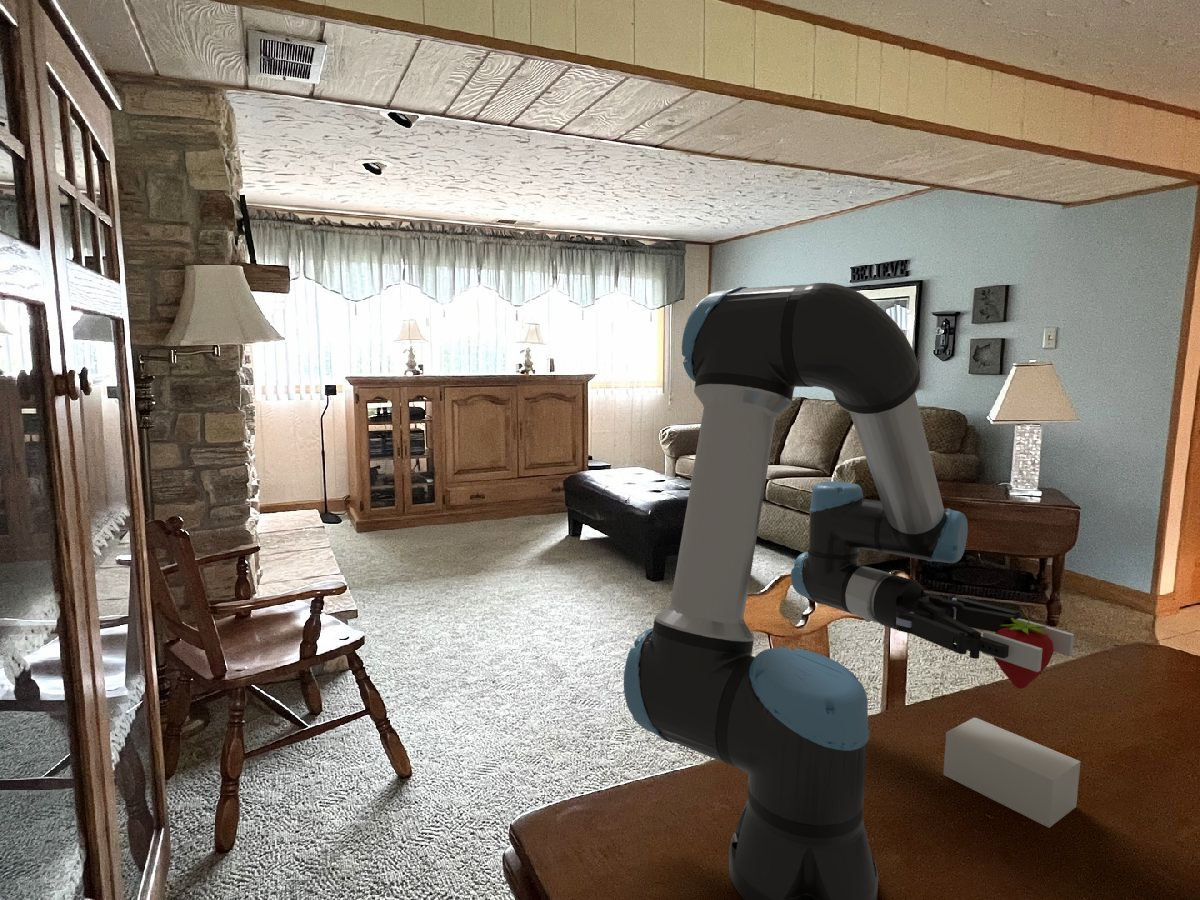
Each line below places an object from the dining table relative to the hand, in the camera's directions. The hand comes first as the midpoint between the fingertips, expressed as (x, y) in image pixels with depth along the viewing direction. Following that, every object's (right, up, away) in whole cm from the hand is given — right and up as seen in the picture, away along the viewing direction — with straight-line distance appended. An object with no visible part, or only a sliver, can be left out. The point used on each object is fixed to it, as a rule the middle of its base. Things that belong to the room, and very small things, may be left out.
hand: (1056, 652), depth 86 cm
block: (-3, -19, +6) cm, 20 cm away
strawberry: (-2, -6, +4) cm, 7 cm away
